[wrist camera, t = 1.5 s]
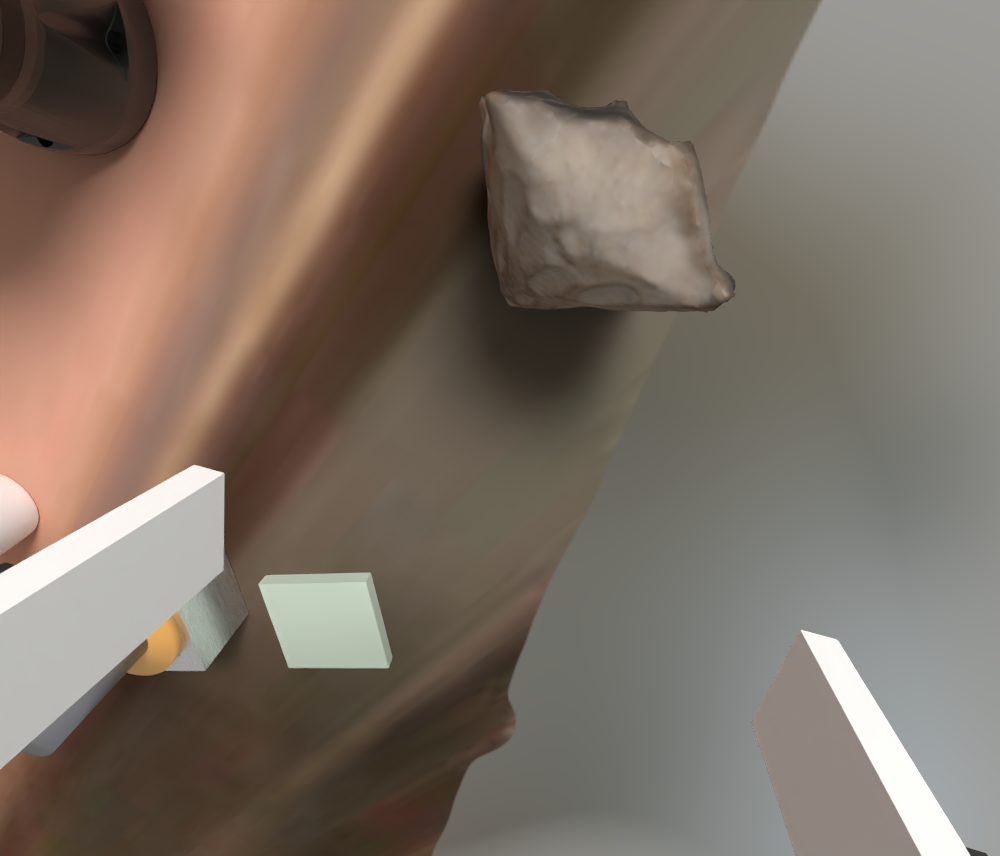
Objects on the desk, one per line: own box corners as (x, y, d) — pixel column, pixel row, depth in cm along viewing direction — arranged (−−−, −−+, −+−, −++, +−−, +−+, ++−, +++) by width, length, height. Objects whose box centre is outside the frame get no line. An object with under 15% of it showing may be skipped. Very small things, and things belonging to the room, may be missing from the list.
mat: (265, 575, 57) (258, 584, 55) (370, 572, 55) (365, 581, 54) (294, 657, 61) (288, 667, 60) (392, 657, 60) (388, 668, 58)
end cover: (117, 553, 55) (-57, 691, 39) (200, 550, 53) (54, 693, 38) (151, 624, 58) (4, 776, 43) (229, 623, 57) (107, 779, 42)
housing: (125, 535, 57) (61, 584, 49) (217, 531, 55) (165, 582, 48) (162, 614, 61) (108, 670, 54) (249, 613, 59) (205, 670, 52)
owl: (487, 127, 38) (419, 56, 19) (668, 105, 36) (781, 6, 18) (503, 304, 42) (460, 381, 24) (663, 292, 41) (746, 365, 23)
